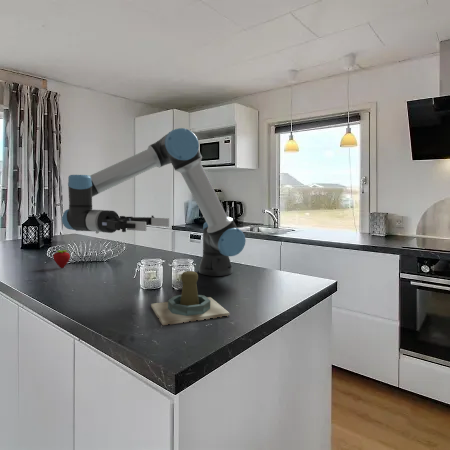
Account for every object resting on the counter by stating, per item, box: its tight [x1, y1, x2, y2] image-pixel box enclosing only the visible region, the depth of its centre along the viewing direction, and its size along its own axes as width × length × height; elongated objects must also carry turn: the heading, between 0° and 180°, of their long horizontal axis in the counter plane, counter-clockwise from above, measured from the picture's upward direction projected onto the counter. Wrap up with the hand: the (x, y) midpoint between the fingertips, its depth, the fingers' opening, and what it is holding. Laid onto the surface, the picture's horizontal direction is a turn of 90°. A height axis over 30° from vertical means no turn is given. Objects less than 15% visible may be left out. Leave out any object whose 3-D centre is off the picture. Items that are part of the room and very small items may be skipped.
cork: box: [180, 270, 199, 306], centre depth 106 cm, size 6×6×11 cm
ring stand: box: [150, 294, 231, 326], centre depth 105 cm, size 20×16×4 cm
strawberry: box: [53, 248, 71, 269], centre depth 158 cm, size 6×8×10 cm
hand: (157, 224), depth 110 cm, fingers open, 13 cm apart
